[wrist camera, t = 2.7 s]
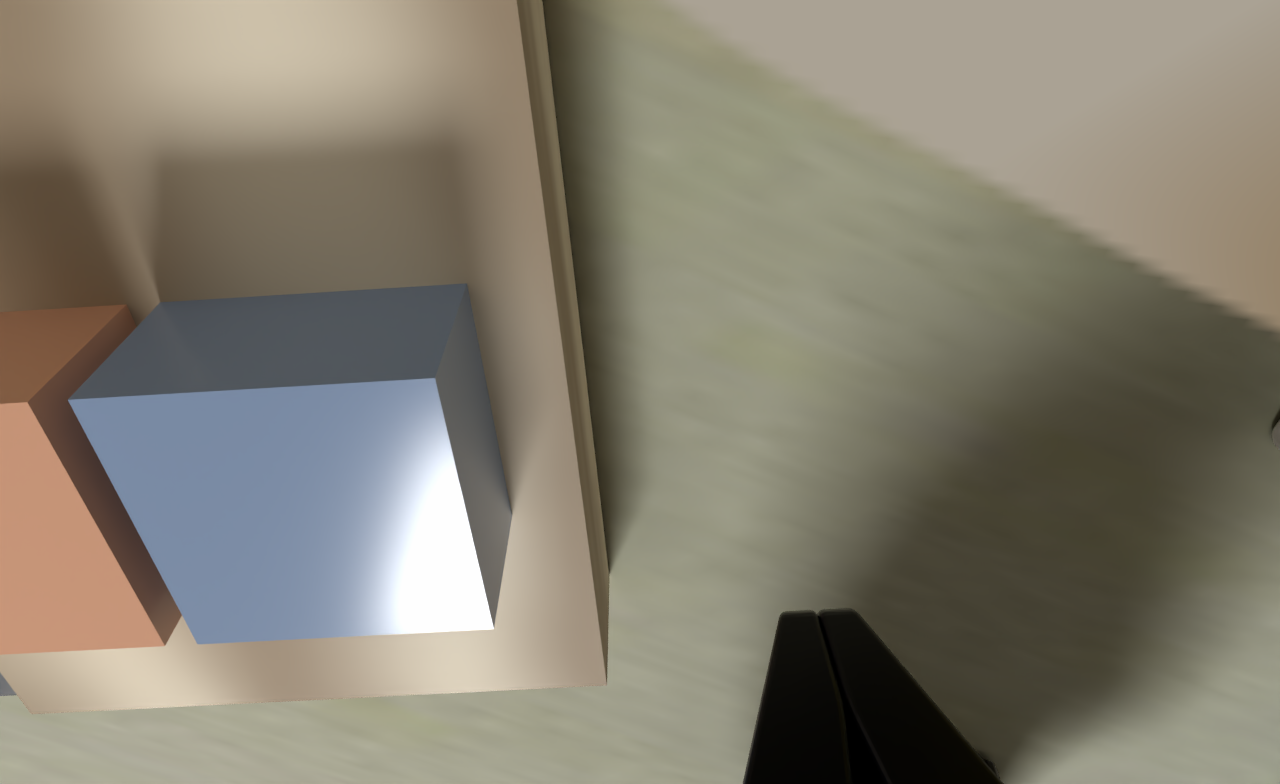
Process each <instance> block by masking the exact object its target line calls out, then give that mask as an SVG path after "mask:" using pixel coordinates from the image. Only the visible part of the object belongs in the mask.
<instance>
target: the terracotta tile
mask: <svg viewBox="0 0 1280 784" xmlns="http://www.w3.org/2000/svg"><path fill="white" fill-rule="evenodd" d="M135 328H136V324H135V322H134V320H133V318H132V315H131V313H130V311H129V309H128V307H127V304H125V305H109V306H92V307H76V308H60V309H44V310H28V311H12V312H0V655H5V654H24V653H43V652H63V651H82V650H101V649H121V648H140V647H159V646H165V645H166V643H167V642H168V640H169V638H170V636H171V634H172V633H173V631H174V629H175V627H176V625H177V624H178V622H179V620H180V618H181V616H182V614H181V612H180V610H179V609H178V607H177V605H176V603H175V601H174V599H173V597H172V595H171V593H170V592H169V590H168V588H167V586H166V584H165V582H164V580H163V578H162V577H161V575H160V573H159V571H158V569H157V567H156V565H155V563H154V561H153V560H152V558H151V556H150V554H149V552H148V550H147V548H146V546H145V545H144V543H143V541H142V539H141V537H140V535H139V533H138V531H137V529H136V528H135V526H134V524H133V522H132V520H131V518H130V516H129V514H128V513H127V511H126V509H125V507H124V505H123V503H122V501H121V499H120V497H119V496H118V494H117V492H116V490H115V488H114V486H113V484H112V482H111V481H110V479H109V477H108V475H107V473H106V471H105V469H104V467H103V465H102V464H101V462H100V460H99V458H98V456H97V454H96V452H95V450H94V448H93V447H92V445H91V443H90V441H89V439H88V437H87V435H86V433H85V432H84V430H83V428H82V426H81V424H80V422H79V420H78V418H77V416H76V415H75V413H74V411H73V409H72V407H71V405H70V403H69V401H68V399H69V398H70V397H71V396H72V395H73V394H74V393H75V392H76V391H77V389H78V388H79V387H80V386H81V385H82V384H83V383H84V382H85V381H86V380H87V379H88V378H89V377H90V376H91V375H92V374H93V373H94V372H95V371H96V369H97V368H98V367H99V366H100V365H101V364H102V363H103V362H104V361H105V360H106V359H107V358H108V357H109V356H110V355H111V354H112V353H113V352H114V351H115V349H116V348H117V347H118V346H119V345H120V344H121V343H122V342H123V341H124V340H125V339H126V338H127V337H128V336H129V335H130V334H131V333H132V332H133V331H134V329H135Z"/></svg>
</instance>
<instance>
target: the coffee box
mask: <svg viewBox="0 0 1280 784" xmlns="http://www.w3.org/2000/svg"><path fill="white" fill-rule="evenodd" d="M1272 440H1273V442H1274V444H1275V446H1276V447H1277V448H1278V449H1279V450H1280V420H1279V421H1278V423H1277V424H1276V426H1275V427H1274V428H1273V432H1272Z"/></svg>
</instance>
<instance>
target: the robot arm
mask: <svg viewBox="0 0 1280 784" xmlns="http://www.w3.org/2000/svg"><path fill="white" fill-rule="evenodd" d="M743 784H1003V783H1002V781H1001V780H1000V777H999V774H998V772H997V769H996V767H995V765H994V763H993V762H991V761H989V760H984V759H982V758H981V757H980V756H979V754H978V753H977V752H976V751H975V750H974V749H973V747H972V746H971V745H970V744H969V743H968V742H967V740H966V739H965V738H964V737H963V736H962V734H961V733H960V732H959V731H958V730H957V729H956V727H955V726H954V725H953V724H952V723H951V722H950V720H949V719H948V718H947V717H946V716H945V715H944V713H943V712H942V711H941V710H940V709H939V707H938V706H937V705H936V704H935V703H934V702H933V700H932V699H931V698H930V697H929V696H928V695H927V693H926V692H925V691H924V690H923V689H922V687H921V686H920V685H919V684H918V683H917V682H916V680H915V679H914V678H913V677H912V676H911V675H910V673H909V672H908V671H907V670H906V669H905V667H904V666H903V665H902V664H901V663H900V662H899V660H898V659H897V658H896V657H895V656H894V655H893V653H892V652H891V651H890V650H889V649H888V648H887V646H886V645H885V644H884V643H883V642H882V640H881V639H880V638H879V637H878V636H877V635H876V633H875V632H874V631H873V630H872V629H871V628H870V626H869V625H868V624H867V623H866V622H865V620H864V619H863V618H862V617H861V616H860V615H859V614H858V613H857V612H856V611H855V610H853V609H849V608H843V609H824V610H821V611H819V612H818V614H816V613H815V612H814V611H811V610H804V611H786V612H783V613H781V615H780V617H779V621H778V625H777V630H776V634H775V639H774V643H773V648H772V652H771V657H770V662H769V666H768V671H767V675H766V680H765V684H764V689H763V694H762V698H761V703H760V707H759V712H758V716H757V721H756V725H755V730H754V735H753V739H752V744H751V748H750V753H749V757H748V762H747V767H746V771H745V776H744V780H743Z"/></svg>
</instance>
